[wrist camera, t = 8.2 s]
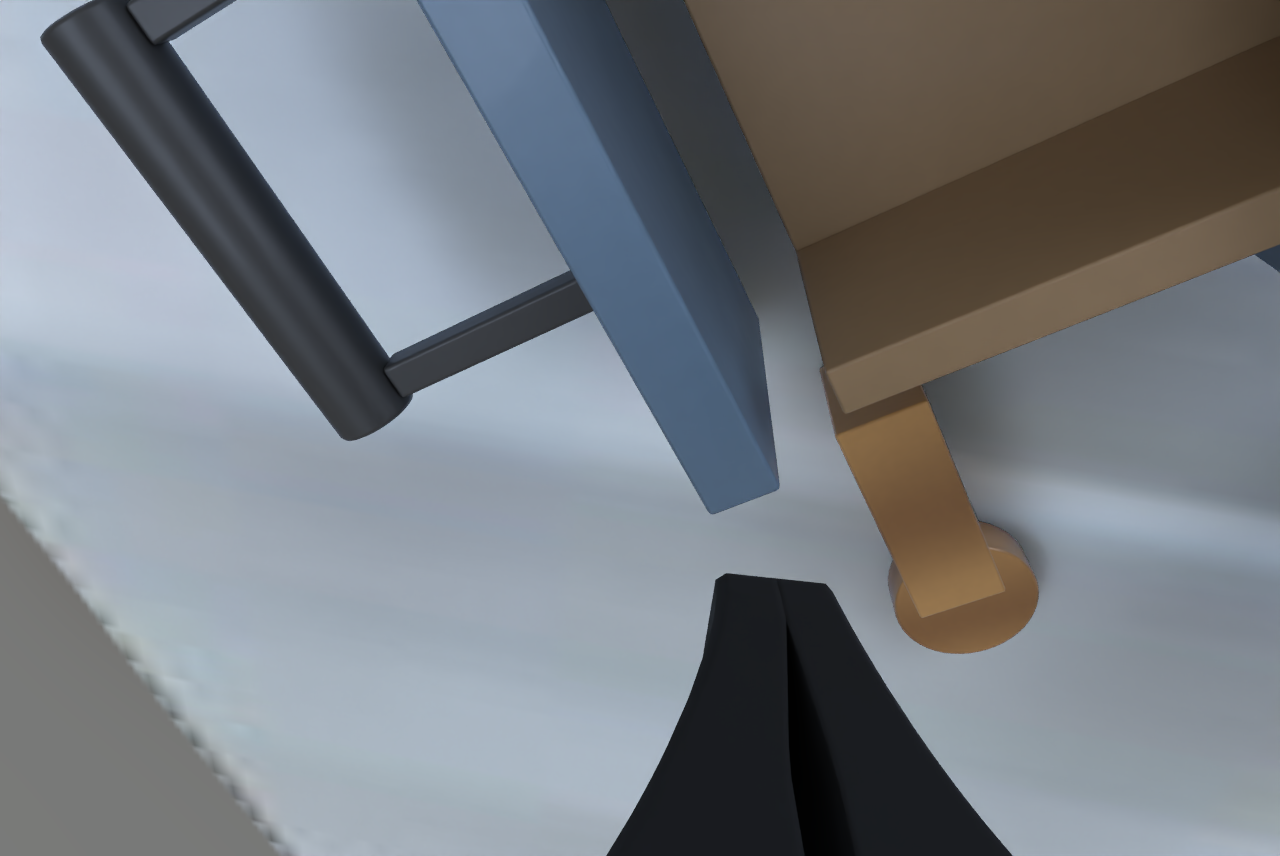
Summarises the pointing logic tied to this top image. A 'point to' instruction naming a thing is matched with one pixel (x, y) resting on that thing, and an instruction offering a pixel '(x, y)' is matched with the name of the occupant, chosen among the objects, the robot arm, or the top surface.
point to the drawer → (794, 175)
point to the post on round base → (933, 529)
